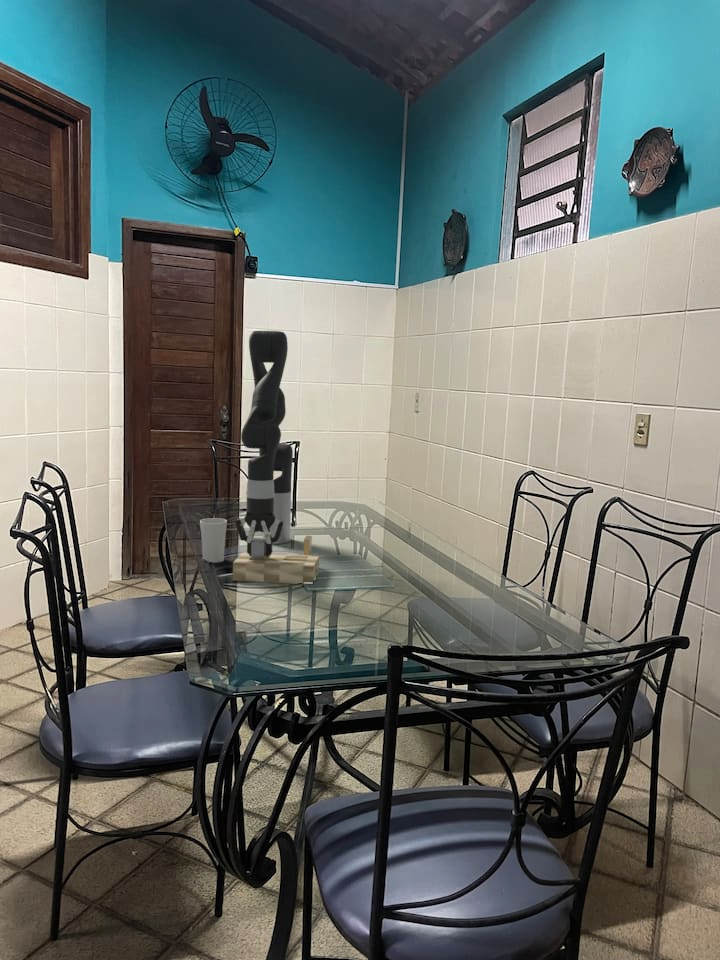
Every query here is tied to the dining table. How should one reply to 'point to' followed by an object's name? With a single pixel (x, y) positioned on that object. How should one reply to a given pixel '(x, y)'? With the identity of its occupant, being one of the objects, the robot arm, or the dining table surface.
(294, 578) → the socket block
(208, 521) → the cup
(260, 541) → the square bit
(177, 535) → the dining table surface
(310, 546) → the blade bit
